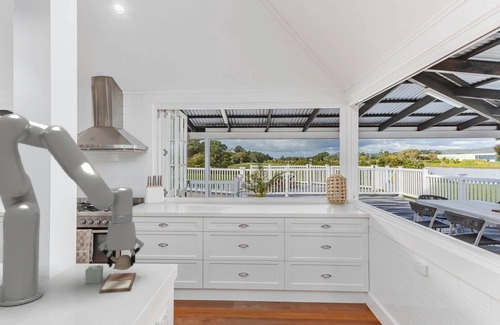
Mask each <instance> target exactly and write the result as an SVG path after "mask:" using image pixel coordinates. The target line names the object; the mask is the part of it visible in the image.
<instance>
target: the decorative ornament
mask: <svg viewBox="0 0 500 325" xmlns="http://www.w3.org/2000/svg"><path fill="white" fill-rule="evenodd" d="M111 259H112V260H113V262H114V267H113V268H112V269H113V270H117V271H127V270H128V269H130V268H132V266H131V255H128V254H122V255H121V254H120V255H119V256H118V257H116V256H113V257H111Z"/></svg>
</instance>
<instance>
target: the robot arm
mask: <svg viewBox="0 0 500 325" xmlns="http://www.w3.org/2000/svg"><path fill="white" fill-rule="evenodd" d="M19 144H22V145H27V146H31V147H35V148H40V149H44V150H47V151H48V152H49V153H50V155H51V156H52V157H53V159H54V160H55V161H56V163H57V164H58V165H59V166H60V167H61V169H62V170H63V172H64V173H65V174H66V175H67V177H68V178H70V179H71V180H72V181H73V182H74V183H75V184H76V185H77V186H78V187H79V189H80V190H81V191H82V192H83V193H84V195H85V196H86V197H87V199H88V202H89V203H90V205H92V206H93V207H95V209H97V210H102V211H104V210H107V209H110V208H111V213H110V214H111V215H110V216H107V218H106V219H107V221H110V222H109V224H108V226H107V233H106V240H105V241H104V242H102V243H100V245H99V246H98V248H99V250H100V251H101V252H102V253H103V254H104V255H105V256H106V257H107V265H108V268H112V267H113V266H114V265H113V264H114V261H113V260H112V259H111V257H114V255H113V254H112V253H113V251H130V253H131V255H130V258H131V267H133V266H134V264H135V263H136V254H138V253H139V252H140V250H141V249H142V248H143V247H144V245H145V243H144V242H143V241H142V240H140V239H139V238H137V233H136V232H137V231H136V225H135V222H134V221H133V216H134V215H133V208H134V207H133V203H134V202H133V197H134V196H133V194H134V193H133V188H131V187H129V186H127V187H126V186H119V187H110V186H108V184H107V182H106V181H105V179H103V178H102V177H103V176H101V175H100V173H99V172H98V171H97V170H96V169H95V167H94V165H93V164H92V163H91V161H90V160H89V159H88V157H87V156H86V155H85V153H84V152H83V150H81V148H80V146H79V145H78V144H77V143H76V141H75V140H74V138H73V137H72V135H71V134H70V133H69V132H68V131H67V129H65V128H64V127H63V126H60V125H50V126H49V125H46V124H42V123H38V122H34V121H31V120H28V118H26V117H25V116H24V115H21V114H19V113H18V114H17V113H8V114H4V115H2V116H0V199H1V202H2V205H3V207H4V213H3V217H2V240H3V241H2V280H1V282H2V285H0V306H2V307H14V306H19V305H23V304H27V303H32V302H33V301H36V300H37V299H40V298H41V297H42V296H43V295H44V288H41V287H39V272H40V271H39V269H40V268H39V264H40V263H39V261H40V229H41V228H40V226H41V210H40V205H39V202H38V200H37V196H36V194H35V190H34V187H33V184H32V180H31V178H30V176H29V174H27V173H26V170H25V168H24V164H23V162H22V157H21V154H20V152H19ZM136 245H138V246H137V247H136ZM135 247H136V248H135Z"/></svg>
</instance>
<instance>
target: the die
mask: <svg viewBox="0 0 500 325" xmlns="http://www.w3.org/2000/svg"><path fill="white" fill-rule="evenodd" d="M84 274H85V277H84V284H85V285H88V284H87V283H91V284H100V283H101V282H102V281H103V279H104V265H103V264H100V265H99V264H98V265H89V266H88V267H87V268H86V269H85V273H84ZM102 278H103V279H102Z"/></svg>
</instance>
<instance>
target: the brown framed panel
mask: <svg viewBox="0 0 500 325" xmlns="http://www.w3.org/2000/svg"><path fill="white" fill-rule="evenodd" d="M136 276H137V273H136V272H122V273H121V272H119V273H109V274H108V276H107V277H106V279H105V281H104V282H103V284H102V285H101V287H100V289H99V290H98V293H99V294H107V293H121V292H122V293H123V292H131V290H132V287H133V284H134V281H135V279H136Z"/></svg>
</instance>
